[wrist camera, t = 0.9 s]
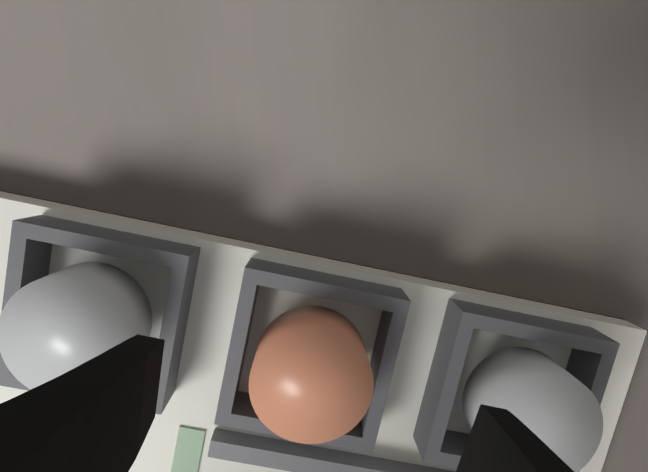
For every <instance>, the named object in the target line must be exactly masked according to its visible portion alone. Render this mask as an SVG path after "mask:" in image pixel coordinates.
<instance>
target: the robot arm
mask: <svg viewBox="0 0 648 472" xmlns="http://www.w3.org/2000/svg"><path fill="white" fill-rule="evenodd" d="M164 343H165V340H163V339H158V338H153V337H149V336H144V335H139V334H137V335H135V336H133V337H131V338H129V339H127V340H125V341H124V342H122V343H120V344H118V345H116V346H114V347H113V348H111V349H109V350H107V351H105V352H104V353H102V354H100V355H98V356H96V357H94V358H93V359H91V360H89V361H87V362H85V363H83V364H81V365H79V366H78V367H76V368H74V369H72V370H70V371H68V372H66V373H64V374H62V375H60V376H58V377H56V378H54V379H52V380H50V381H48V382H46V383H44V384H42V385H39V386H37V387H35V388H33V389H31V390H29V391H27V392H25V393H23V394H21V395H18V396H16V397H14V398H12V399H10V400H8V401H5V402H3V403H1V404H0V472H128V471H129V470H130V468H131V466H132V465H133V463H134V461H135V460H136V458H137V455H138V453H139V451H140V449H141V447H142V445H143V443H144V440H145V438H146V436H147V434H148V431H149V429H150V427H151V425H152V422H153V420H154V418H155V414H156V406H157V398H158V390H159V382H160V374H161V366H162V358H163V351H164ZM456 472H574V471H573V470H572V469H571V468H570V467H569V466H568V465H567V464H566V463H565V462H564V461H563V460H562V459H561V458H559V457H558V456H557V455H556V454H555V453H554V452H553V451H552V450H551V449H550V448H549V447H548V446H547V445H546V444H545V443H544V442H543V441H542V440H541V439H540V438H538V437H537V436H536V435H535V434H534V433H533V432H532V431H531V430H530V429H529V428H528V427H527V426H526V425H525V424H523V423H522V422H521V421H520V420H519V419H518V418H517V417H516V416H514V415H513V414H512V413H511V412H510V411H508V410H507V409H502V408H497V407H492V406H488V405H483V404H481V405H480V407H479V410H478V413H477V415H476V418H475V421H474V424H473V426H472V429H471V432H470V434H469V437H468V440H467V442H466V445H465V448H464V451H463V453H462V456H461V459H460V461H459V464H458V467H457V470H456Z"/></svg>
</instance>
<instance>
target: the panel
mask: <svg viewBox="0 0 648 472" xmlns="http://www.w3.org/2000/svg"><path fill="white" fill-rule="evenodd" d="M83 262H100V263H105V264H109V265H112V266H115V267H117V268H119V269H121V270H123V271H125V272H126V273H127V274H129V275H130V276H131V277H133V278H134V279H135V280H136V281H137V282H138V284H139V285H140V286H141V287H142V289H143V290H144V292H145V294H146V296H147V298H148V300H149V303H150V306H151V311H152V328H151V332H150V336H149V337H153V338H158V339H163V340H165V343H164V351H163V358H162V366H161V374H160V382H159V390H158V398H157V406H156V414H155V418H154V420H153V422H152V425H151V427H150V429H149V431H148V434H147V436H146V438H145V440H144V443H143V445H142V447H141V449H140V451H139V453H138V455H137V458H136V460H135V461H134V463H133V465H132V466H131V468H130V470H129V471H128V472H456V470H457V467H458V464H459V461H460V459H461V456H462V453H463V451H464V448H465V445H466V442H467V440H468V437H469V434H470V432H471V427H470V426H469V424H468V422H467V420H466V417H465V415H464V411H463V404H462V398H463V391H464V387H465V384H466V381H467V379H468V377H469V375H470V374H471V372H472V371H473V369H474V368H475V367H476V366H477V365H478V364H479V363H480V362H481V361H482V360H484V359H485V358H486V357H488V356H489V355H491V354H493V353H495V352H498V351H500V350H503V349H507V348H514V347H525V348H531V349H535V350H538V351H540V352H542V353H544V354H546V355H547V356H549V357H550V358H551V359H553V360H554V361H555V362H556V363H558V364H559V365H560V366H561V367H563V368H564V369H565V370H566V371H568V372H569V373H570V374H571V375H573V376H574V377H575V378H576V379H578V380H579V381H580V382H581V383H583V384H584V385H585V386H586V387H588V389H589V390H590V391H591V392H592V393H593V394H594V396H595V397H596V399H597V401H598V403H599V405H600V407H601V411H602V415H603V434H602V438H601V441H600V444H599V446H598V449H597V451H596V452H595V454H594V456H593V457H592V458H591V460H590V461H589V462H588V463H587V464H586V465H585V466H584V467H583V468H582V469H581V470H580V471H579V472H601V470H602V467H603V464H604V461H605V458H606V455H607V452H608V449H609V446H610V442H611V439H612V436H613V433H614V430H615V427H616V424H617V421H618V418H619V415H620V412H621V409H622V406H623V403H624V400H625V397H626V394H627V391H628V388H629V385H630V382H631V379H632V375H633V372H634V369H635V366H636V363H637V360H638V357H639V354H640V351H641V348H642V345H643V342H644V339H645V336H646V333H647V331H646V330H644V329H642V328H640V327H638V326H636V325H634V324H632V323H630V322H628V321H626V320H622V319H617V318H612V317H608V316H603V315H598V314H593V313H588V312H583V311H578V310H574V309H569V308H564V307H559V306H554V305H549V304H545V303H540V302H535V301H530V300H525V299H520V298H515V297H511V296H506V295H501V294H496V293H491V292H486V291H482V290H477V289H472V288H467V287H462V286H457V285H453V284H448V283H443V282H438V281H433V280H428V279H423V278H419V277H414V276H409V275H404V274H399V273H394V272H390V271H385V270H380V269H375V268H370V267H365V266H361V265H356V264H351V263H346V262H341V261H336V260H331V259H327V258H322V257H317V256H312V255H307V254H302V253H298V252H293V251H288V250H283V249H278V248H273V247H269V246H264V245H259V244H254V243H249V242H244V241H239V240H235V239H230V238H225V237H220V236H215V235H210V234H206V233H201V232H196V231H191V230H186V229H181V228H177V227H172V226H167V225H162V224H157V223H152V222H147V221H143V220H138V219H133V218H128V217H123V216H118V215H114V214H109V213H104V212H99V211H94V210H89V209H85V208H80V207H75V206H70V205H65V204H60V203H55V202H51V201H46V200H41V199H36V198H31V197H26V196H22V195H17V194H12V193H7V192H2V191H0V315H1V313H2V310H3V308H4V307H5V305H6V303H7V302H8V300H9V299H10V298H11V297H12V296H13V295H14V294H15V293H16V292H17V291H18V290H19V289H21V288H22V287H24V286H25V285H27V284H29V283H31V282H33V281H35V280H38V279H40V278H43V277H45V276H47V275H50V274H52V273H54V272H57V271H59V270H61V269H64V268H66V267H69V266H71V265H74V264H78V263H83ZM302 306H321V307H325V308H329V309H332V310H334V311H337V312H338V313H340V314H342V315H343V316H345V317H346V318H347V319H348V320H349V321H350V322H351V323H352V324H353V325H354V326H355V327H356V329H357V330H358V332H359V333H360V335H361V337H362V340H363V343H364V346H365V349H366V352H367V356H368V359H369V362H370V366H371V369H372V373H373V380H374V389H373V396H372V400H371V403H370V406H369V408H368V410H367V412H366V414H365V415H364V417H363V418H362V420H361V421H360V422H359V423H358V424H357V425H356V426H355V427H354V428H353V429H352V430H351V431H349V432H348V433H346V434H345V435H343V436H341V437H339V438H337V439H334V440H332V441H329V442H325V443H319V444H302V443H296V442H292V441H289V440H286V439H284V438H282V437H280V436H278V435H276V434H275V433H273V432H272V431H271V430H269V429H268V428H267V427H266V426H265V425H264V424H263V423H262V422H261V420H260V419H259V418H258V416H257V414H256V413H255V411H254V409H253V406H252V404H251V400H250V396H249V375H250V371H251V368H252V364H253V361H254V357H255V354H256V350H257V347H258V343H259V340H260V338H261V336H262V334H263V332H264V331H265V329H266V328H267V326H268V325H269V324H270V323H271V322H272V321H273V320H274V319H275V318H277V317H278V316H279V315H281V314H283V313H284V312H286V311H288V310H291V309H294V308H297V307H302ZM29 390H30V389H29V388H27V387H26V386H24V385H23V384H22V383H21V382H19V381H18V380H17V379H16V378H15V377H14V375H13V374H12V373H11V372H10V370H9V369H8V368H7V366H6V364H5V362H4V361H3V358H2V356H1V353H0V404H1V403H3V402H5V401H8V400H10V399H12V398H14V397H16V396H18V395H21V394H23V393H25V392H27V391H29Z"/></svg>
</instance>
